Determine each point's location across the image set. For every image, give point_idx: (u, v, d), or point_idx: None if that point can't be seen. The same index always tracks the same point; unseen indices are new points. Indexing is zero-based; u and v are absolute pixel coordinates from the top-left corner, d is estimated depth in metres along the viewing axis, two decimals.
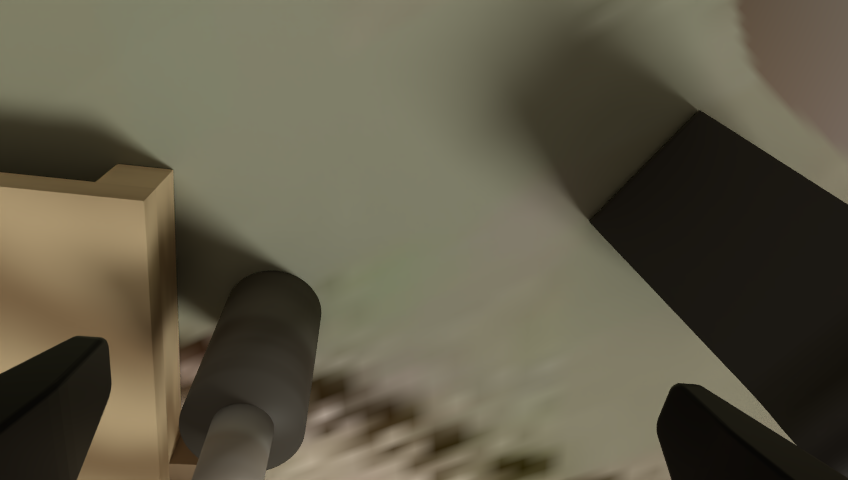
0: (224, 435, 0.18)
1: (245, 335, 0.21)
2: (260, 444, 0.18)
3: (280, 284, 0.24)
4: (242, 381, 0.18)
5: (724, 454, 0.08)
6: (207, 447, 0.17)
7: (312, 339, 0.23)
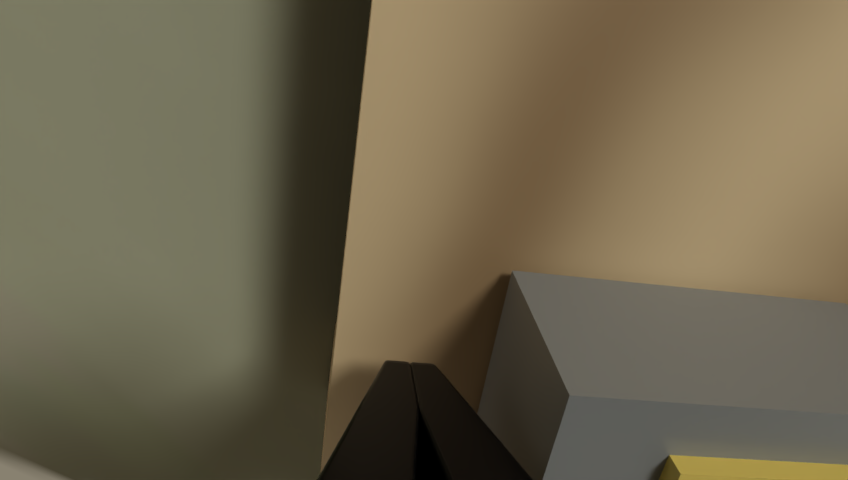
0: None
1: None
2: None
3: None
4: None
5: None
6: None
7: None
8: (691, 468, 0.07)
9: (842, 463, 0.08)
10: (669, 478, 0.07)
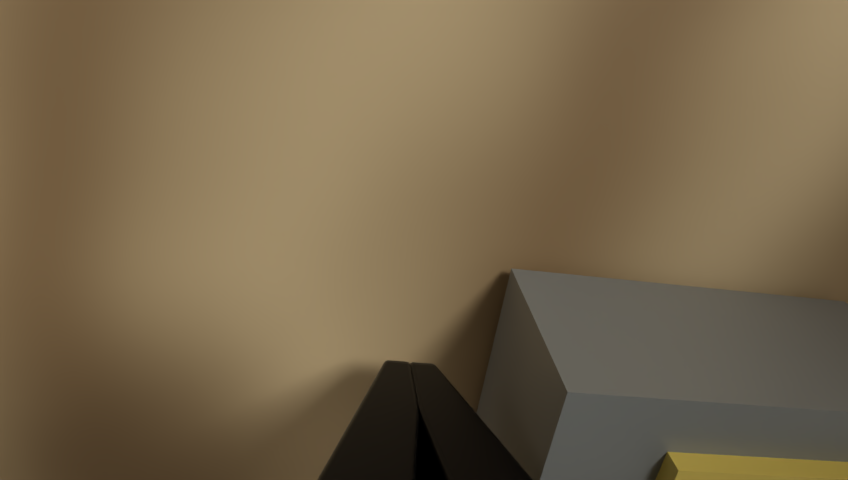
0: None
1: None
2: None
3: None
4: None
5: None
6: None
7: None
8: (689, 465, 0.07)
9: (840, 460, 0.08)
10: (667, 475, 0.07)
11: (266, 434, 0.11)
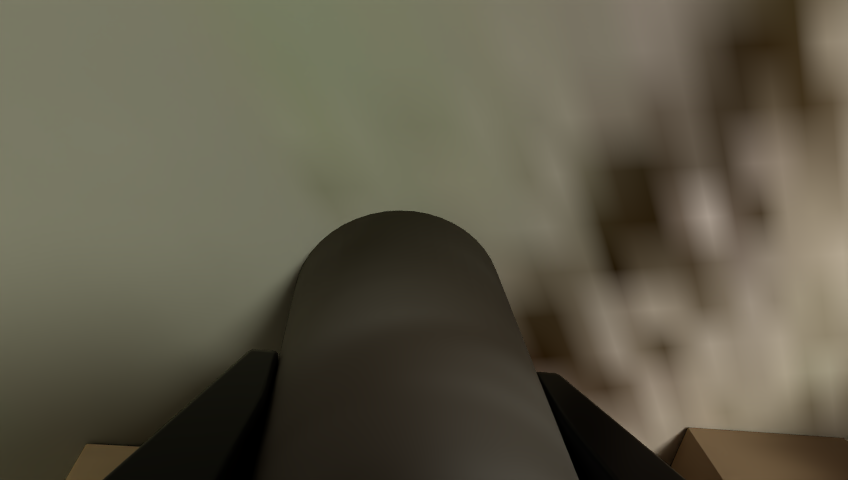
0: None
1: None
2: None
3: (290, 310, 0.10)
4: None
5: None
6: None
7: (368, 300, 0.08)
8: None
9: None
10: None
11: None
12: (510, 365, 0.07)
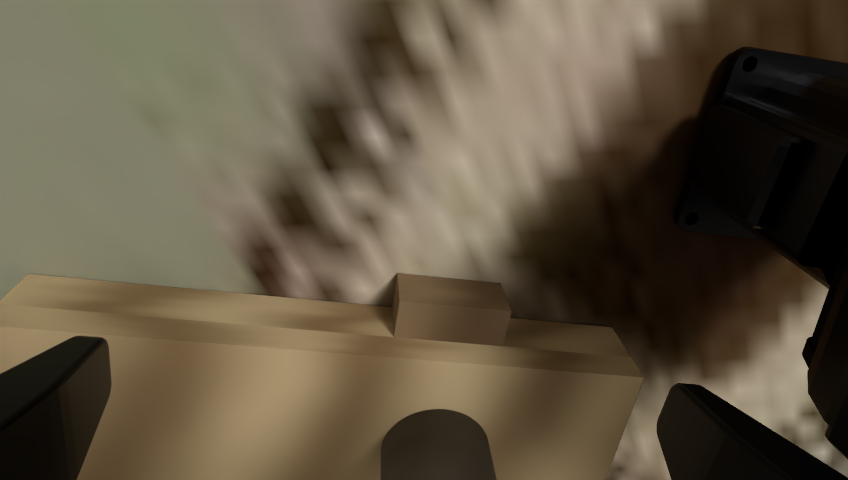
0: None
1: None
2: None
3: (383, 461, 0.21)
4: None
5: (724, 454, 0.08)
6: None
7: (428, 476, 0.18)
8: None
9: None
10: None
11: None
12: None
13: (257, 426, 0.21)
